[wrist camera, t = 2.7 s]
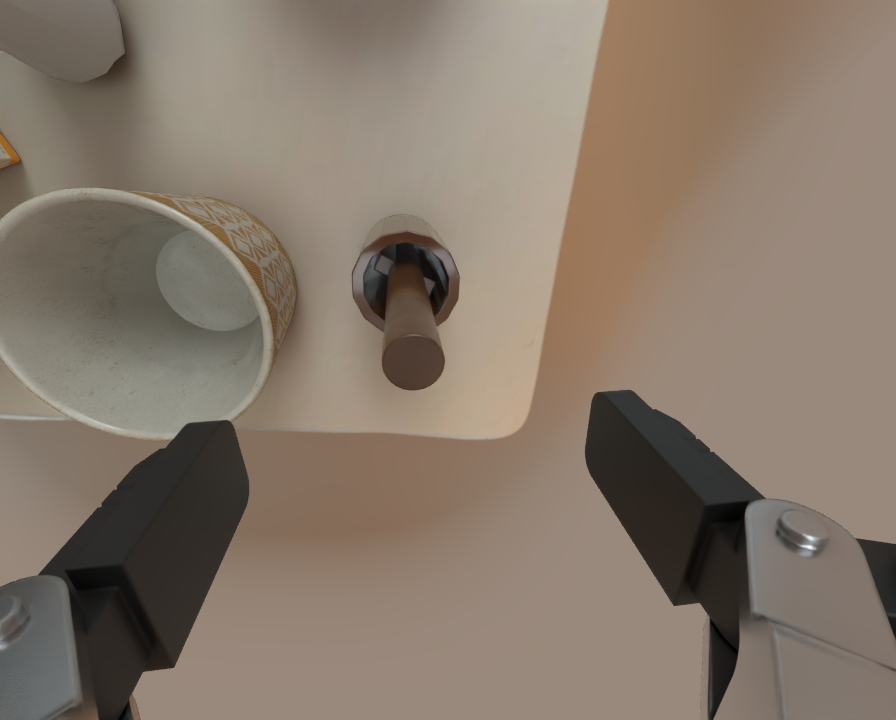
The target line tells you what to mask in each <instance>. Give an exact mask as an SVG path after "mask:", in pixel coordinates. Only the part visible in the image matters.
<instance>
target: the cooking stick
mask: <svg viewBox="0 0 896 720" xmlns="http://www.w3.org/2000/svg"><path fill="white" fill-rule="evenodd" d="M374 270H376V271H378V272H380V273H382V274H384V275H386V276H388V284H387V297H386V311H385V324H384V338H383V351H382V368H383V371H384V374H385V375H386V377H387V378H388V380H389V381H390V382H392V383H393V384H394V385H396V386H397V387H399V388H402V389H405V390H420V389H424V388H426V387H428V386H430V385H432V384H433V383H434V382H435V381H437V379H438V378H439V377H440V375H441V374H442V372H443V369H444V365H445V358H444V353H443V349H442V345H441V341H440V338H439V334H438V330H437V326H436V322H435V318H434V315H433V311H432V307H431V303H430V299H429V296H430V294H431V292H432V290H433V289H434V287H435V285H436V280H435V277H434V275H433V272H432V269H431V266H430V264H429V262H428V261H426V260H424V259H422V258H420V257H418V253H417V251H416V249H415V248H414V246H412V245H411V244H409V243H402V244H396V245H391V246H387V247H386V248H385V249H383V250H382V251H381V252H379V253H378V254H377V257H376V261H375V265H374Z"/></svg>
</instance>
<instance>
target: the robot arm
mask: <svg viewBox="0 0 896 720" xmlns="http://www.w3.org/2000/svg"><path fill="white" fill-rule="evenodd" d="M585 458H586V464H587V467H588V470H589V473H590V475H591V477H592V478H593V480H594V481H595V483H596V484H597V486H598V488H599V489H600V491H601V492H602V494H603V495H604V497H605V498H606V500H607V501H608V503H609V505H610V506H611V508H612V509H613V511H614V513H615V514H616V516H617V517H618V519H619V521H620V522H621V524H622V525H623V527H624V528H625V530H626V532H627V533H628V535H629V536H630V538H631V539H632V541H633V543H634V544H635V546H636V547H637V549H638V550H639V552H640V554H641V555H642V557H643V558H644V560H645V561H646V563H647V564H648V566H649V568H650V569H651V571H652V572H653V574H654V576H655V577H656V579H657V580H658V582H659V583H660V585H661V586H662V588H663V589H664V591H665V593H666V594H667V596H668V597H669V599H670V601H671V602H672V604H673V605H674V606H678V605H687V604H694V603H700V604H701V605H702V607H703V608H704V610H705V611H706V612H707V617H706V619H705V622H704V627H703V650H702V675H701V700H700V720H896V544H891V543H884V542H877V541H871V540H864V539H857V538H854V537H853V536H852V535H851V534H850V533H849V532H848V531H847V530H846V529H844V528H843V527H842V526H841V525H839V524H838V523H837V522H835V521H834V520H832V519H830V518H829V517H827V516H825V515H823V514H822V513H820V512H817V511H816V510H813V509H811V508H809V507H806V506H804V505H800V504H797V503H794V502H790V501H786V500H780V499H766V498H765V497H764V496H763V495H761V494H760V493H759V492H758V491H757V490H756V489H755V488H754V487H752V486H751V485H750V484H749V483H748V482H747V481H746V480H744V479H743V478H742V477H741V476H740V475H739V474H738V473H737V472H735V471H734V470H733V469H732V468H731V467H730V466H729V465H728V464H726V463H725V462H724V461H723V460H722V459H721V458H720V457H719V456H717V455H716V454H715V453H714V452H710V449H709V448H708V447H707V446H706V445H705V444H704V443H703V442H702V441H700V440H699V439H696V437H695V435H693V433H692V432H690V431H689V430H688V429H687V428H686V427H685V426H684V425H682V424H681V423H680V422H679V421H677V420H676V419H673V418H672V417H670V416H668V415H666V414H664V413H662V412H660V411H658V410H656V409H654V410H653V409H652V408H651V407H650V406H648V405H647V404H646V403H645V402H644V401H643V400H642V399H641V398H640V397H639V396H638V395H637V394H636V393H634V392H633V391H631V390H620V391H608V392H597V393H596V394H595V395H594V397H593V399H592V403H591V410H590V417H589V425H588V431H587V439H586V446H585ZM248 497H249V479H248V475H247V471H246V468H245V464H244V461H243V457H242V454H241V450H240V447H239V443H238V440H237V436H236V432H235V429H234V427H233V425H232V423H231V422H230V421H229V420H217V421H204V422H191V423H187V424H186V425H185V426H184V427H183V428H182V429H181V430H180V431H179V433H178V434H177V435H176V436H175V437H174V439H173V440H172V441H171V442H170V443H169V445H168V446H167V447H166V448H164V449H159V450H158V451H156V452H155V453H153V454H152V455H150V456H149V457H147V458H146V459H145V460H143V461H141V462H140V463H139V464H137V465H136V466H134V467H133V469H132V470H131V471H130V472H129V473H128V474H127V475H126V477H125V478H124V479H123V480H122V481H121V482H120V483H119V484H118V485H117V490H113V491H112V492H111V493H110V494H109V496H108V497H107V498H106V499H105V500H104V501H103V502H102V507H100V508H97V509H96V510H95V511H94V512H93V514H92V515H91V516H90V517H89V518H88V519H87V520H86V521H85V523H84V524H83V525H82V526H81V527H80V528H79V529H78V530H77V532H76V533H75V534H74V535H73V536H72V537H71V538H70V539H69V541H68V542H67V543H66V544H65V545H64V546H63V547H62V548H61V550H60V551H59V552H58V553H57V554H56V555H55V556H54V557H53V559H52V560H51V561H50V562H49V563H48V564H47V565H46V567H45V568H44V569H43V570H42V571H41V572H40V573H39V574H38V575H37V576H31V577H27V578H23V579H19V580H16V581H13V582H10V583H8V584H6V585H3V586H1V587H0V720H140V716H139V712H138V707H137V703H136V701H135V698H134V697H133V695H132V692H133V690H134V688H135V686H136V685H137V682H138V680H139V678H140V677H141V675H142V673H143V672H145V671H152V670H160V669H168V668H174V667H175V664H176V662H177V660H178V658H179V655H180V653H181V651H182V649H183V647H184V644H185V642H186V640H187V638H188V635H189V633H190V631H191V629H192V626H193V624H194V622H195V620H196V618H197V615H198V613H199V611H200V609H201V606H202V604H203V602H204V600H205V598H206V595H207V593H208V591H209V589H210V586H211V584H212V582H213V580H214V578H215V575H216V573H217V571H218V569H219V566H220V564H221V562H222V560H223V558H224V555H225V553H226V551H227V548H228V546H229V544H230V542H231V540H232V537H233V535H234V533H235V531H236V529H237V526H238V524H239V522H240V519H241V517H242V515H243V513H244V511H245V508H246V506H247V502H248Z"/></svg>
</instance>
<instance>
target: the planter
mask: <svg viewBox="0 0 896 720" xmlns="http://www.w3.org/2000/svg"><path fill="white" fill-rule="evenodd" d="M295 304H296V280H295V275H294V271H293V268H292V265H291V262H290V260H289V258H288V255H287V254H286V252H285V250H284V248H283V247H282V245H281V244H280V242H279V241H278V240H277V238H276V237H275V236H274V235H273V233H272V232H271V231H270V230H269V229H268V228H267V227H266V226H265V225H263V224H262V223H261V222H260V221H259V220H257V219H256V218H255V217H253V216H252V215H250V214H249V213H247V212H245V211H244V210H242V209H240V208H238V207H236V206H234V205H231V204H229V203H226V202H223V201H220V200H216V199H212V198H207V197H199V196H188V195H176V194H164V193H153V192H141V191H129V190H117V189H106V188H70V189H63V190H57V191H53V192H49V193H45V194H42V195H39V196H36V197H34V198H32V199H29V200H27V201H25V202H23V203H22V204H20V205H18V206H17V207H15V208H14V209H12V210H11V211H9V212H8V213H7V214H6V215H5V216H4V217H2V218H1V219H0V358H1V359H2V361H3V362H4V363H5V365H6V366H7V367H8V368H9V370H10V371H11V372H12V373H13V374H14V375H15V376H16V377H17V378H18V379H19V380H20V381H21V383H23V384H24V385H25V386H26V387H27V388H28V389H29V390H30V391H31V392H33V393H34V394H35V395H36V396H38V397H39V398H40V399H41V400H43V401H44V402H46V403H47V404H48V405H50V406H51V407H53V408H55V409H56V410H58V411H59V412H61V413H63V414H65V415H66V416H68V417H70V418H72V419H74V420H76V421H78V422H80V423H83V424H85V425H87V426H90V427H92V428H95V429H98V430H100V431H104V432H107V433H110V434H114V435H118V436H122V437H127V438H133V439H140V440H151V441H168V440H173V439H174V437H175V436H176V435H177V434H178V433H179V431H180V430H181V429H182V428H183V427H184V426H185V425H186V424H187V423H191V422H204V421H217V420H229V421H230V422H232V421H234V420H235V419H236V418H238V417H239V416H240V415H242V414H243V413H244V412H245V411H246V410H247V409H248V408H249V407H250V406H251V405H252V404H253V403H254V401H255V400H256V399H257V397H258V396H259V394H260V393H261V391H262V389H263V388H264V386H265V384H266V381H267V379H268V377H269V374H270V371H271V369H272V366H273V364H274V361H275V359H276V356H277V354H278V351H279V348H280V346H281V343H282V341H283V338H284V336H285V333H286V331H287V328H288V325H289V323H290V320H291V318H292V315H293V312H294V308H295Z"/></svg>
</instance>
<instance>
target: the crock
mask: <svg viewBox="0 0 896 720" xmlns="http://www.w3.org/2000/svg"><path fill="white" fill-rule="evenodd" d="M402 243H409V244H411V245H412V246H414V248H415V249H416V251H417V253H418V257H420V258H422V259H424V260H426V261H428V262H429V264H430V266H431V269H432V272H433V275H434V277H435V280H436V285H435V287H434V289H433V290H432V292H431V294H430V296H429V299H430V303H431V307H432V311H433V315H434V318H435V322H436V326H438V325H440V324H441V323H443V322H444V321H445V320H446V319H448V317H449V315H450V313H451V311H452V310H453V308H454V306H455V304H456V303H457V301H458V296H459V280H460V276H459V272H458V270H457V268H456V265H455V263H454V260H453V258H452V255H451V254H450V252H449V251H448V249H447V247H446V246H445V244H444V243H443V241H442V240H441V238H440V237H439V235H438V234H437V232H436V231H435V230H434V229H433V228H432V227H431V226H430V225H429V224H428V223H426V222H425V221H424V220H422V219H420V218H418V217H415V216H412V215H407V214H399V215H393V216H390V217H387V218H385V219H383V220H381V221H380V222H379V223H377V224H376V225H375V226H374V227H373V228H372V229H371V230H370V233H369V235H368V237H367V239H366V241H365V244H364V246H363V248H362V250H361V253H360V255H359V257H358V260H357V262H356V264H355V267H354V269H353V271H352V289H353V298H354V300H355V302H356V304H357V306H358V308H359V309H360V311H361V313H362V315H363V317H364V318H365V319H366V320H368V321H369V322H370V323H372V324H373V325H374V326H376V327H377V328H378V329H380V330H381V331H384V324H385V311H386V297H387V284H388V276H386V275H384V274H382V273H380V272H378V271H376V270H374V265H375V261H376V257H377V254H378V253H379V252H381V251H382V250H383V249H385V248H386V247H387V246H391V245H396V244H402Z"/></svg>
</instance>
